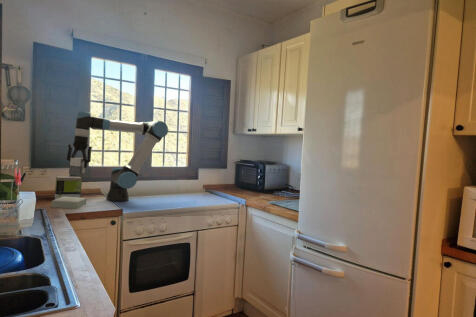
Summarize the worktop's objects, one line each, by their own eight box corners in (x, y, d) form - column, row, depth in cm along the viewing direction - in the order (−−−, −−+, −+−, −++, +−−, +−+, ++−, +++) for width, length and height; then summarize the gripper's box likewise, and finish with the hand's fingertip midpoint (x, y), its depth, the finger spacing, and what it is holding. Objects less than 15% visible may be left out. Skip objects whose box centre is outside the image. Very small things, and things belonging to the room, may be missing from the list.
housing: (79, 174, 185) (81, 158, 185) (68, 173, 184) (70, 157, 184) (86, 173, 197) (88, 158, 197) (76, 172, 196) (78, 157, 196)
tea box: (78, 197, 214) (80, 176, 214) (80, 199, 205) (82, 178, 205) (54, 197, 205) (56, 175, 205) (54, 199, 197) (56, 177, 197)
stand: (86, 204, 192) (86, 197, 192) (77, 208, 177) (77, 202, 177) (62, 202, 190) (63, 196, 190) (51, 207, 174) (51, 200, 174)
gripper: (99, 138, 195) (95, 173, 195) (68, 134, 192) (63, 170, 192) (95, 137, 187) (91, 174, 187) (62, 133, 185) (58, 171, 184)
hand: (77, 172), depth 190 cm, fingers closed on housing, 6 cm apart
